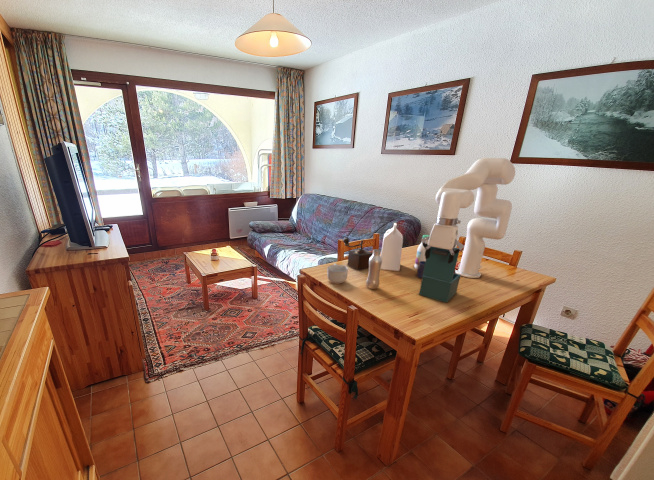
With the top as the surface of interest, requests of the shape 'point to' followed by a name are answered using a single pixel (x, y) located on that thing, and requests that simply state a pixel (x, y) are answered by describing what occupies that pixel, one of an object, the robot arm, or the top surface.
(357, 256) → the manual coffee grinder
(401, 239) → the milk
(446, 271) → the cool box lid
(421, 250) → the milk bottle
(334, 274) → the teacup
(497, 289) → the top surface
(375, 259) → the plastic bottle
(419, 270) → the cup
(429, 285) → the cool box
